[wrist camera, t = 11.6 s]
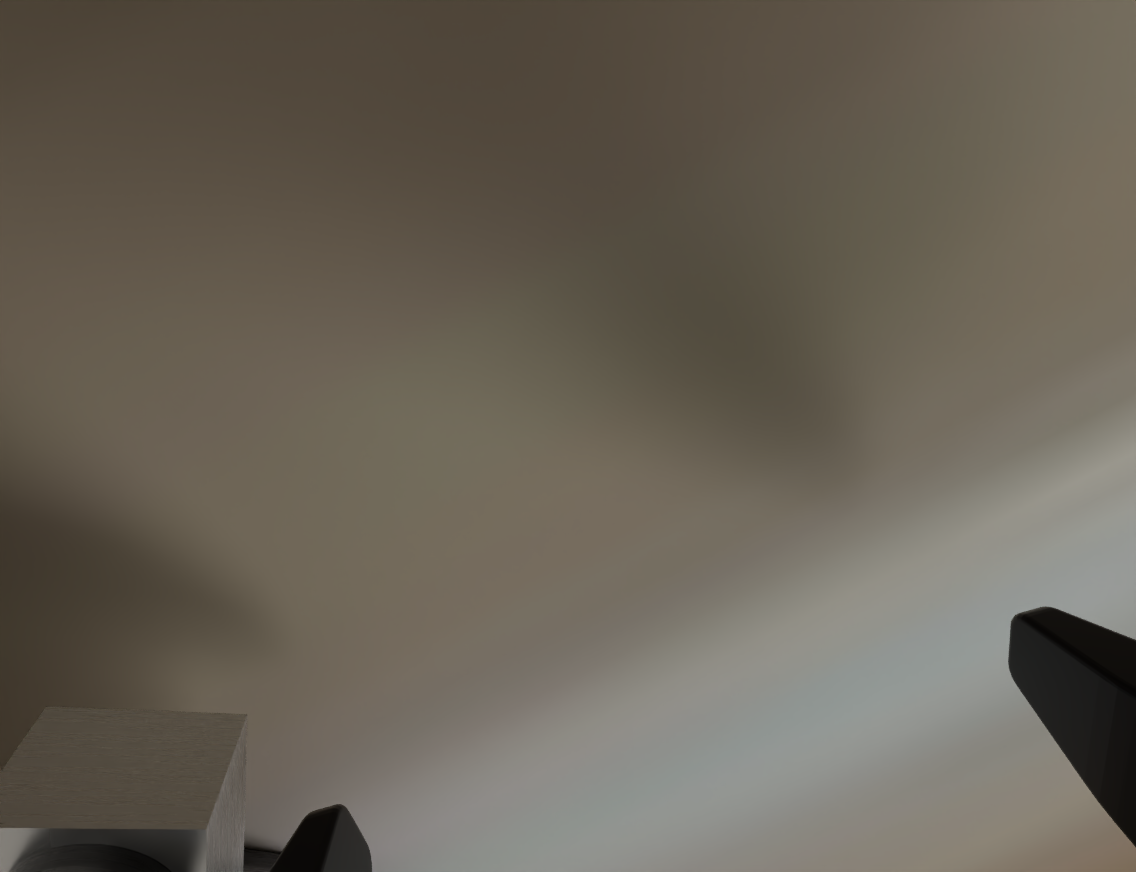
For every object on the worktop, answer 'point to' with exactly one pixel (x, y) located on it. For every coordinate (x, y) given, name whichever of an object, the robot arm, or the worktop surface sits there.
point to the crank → (125, 793)
